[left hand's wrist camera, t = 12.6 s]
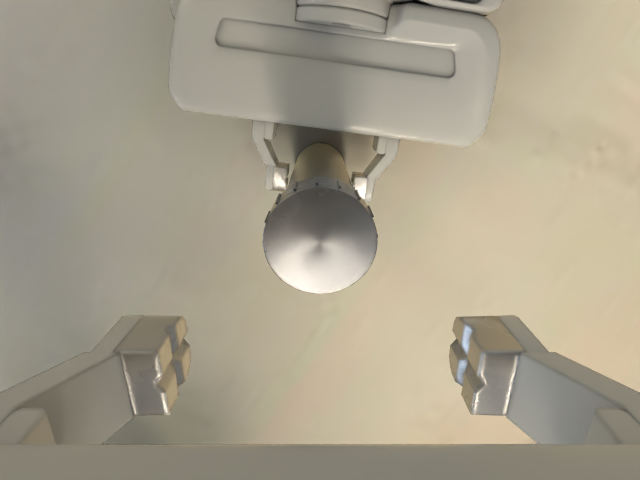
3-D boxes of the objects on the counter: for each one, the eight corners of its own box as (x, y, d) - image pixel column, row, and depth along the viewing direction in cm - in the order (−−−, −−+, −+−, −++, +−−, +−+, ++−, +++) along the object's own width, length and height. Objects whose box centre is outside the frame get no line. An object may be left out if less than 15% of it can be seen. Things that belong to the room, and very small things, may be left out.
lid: (284, 284, 20) (280, 305, 18) (254, 190, 18) (246, 203, 16) (381, 262, 19) (388, 281, 17) (360, 163, 17) (365, 172, 15)
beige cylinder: (302, 197, 33) (287, 290, 18) (289, 150, 32) (260, 207, 16) (349, 185, 33) (375, 270, 18) (338, 137, 32) (356, 183, 16)
